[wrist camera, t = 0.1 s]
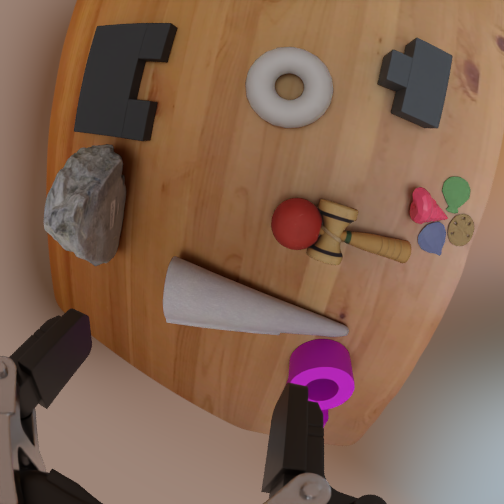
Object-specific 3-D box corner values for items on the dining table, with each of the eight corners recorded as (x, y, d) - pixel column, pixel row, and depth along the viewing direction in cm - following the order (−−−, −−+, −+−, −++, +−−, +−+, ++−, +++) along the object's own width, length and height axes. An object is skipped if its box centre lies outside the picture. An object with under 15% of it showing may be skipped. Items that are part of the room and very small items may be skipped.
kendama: (408, 212, 36) (279, 177, 35) (428, 237, 31) (282, 199, 30) (385, 258, 41) (264, 232, 39) (400, 287, 35) (264, 261, 34)
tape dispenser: (297, 334, 44) (296, 362, 39) (358, 343, 44) (364, 371, 38) (276, 399, 51) (273, 425, 45) (327, 406, 50) (328, 432, 44)
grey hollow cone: (373, 301, 36) (163, 271, 34) (352, 353, 39) (162, 330, 38) (356, 274, 43) (178, 247, 42) (340, 322, 46) (175, 299, 45)
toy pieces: (399, 254, 37) (409, 268, 33) (406, 172, 33) (418, 177, 29) (469, 254, 36) (483, 267, 32) (479, 179, 31) (496, 185, 27)
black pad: (105, 29, 30) (96, 26, 28) (177, 27, 30) (171, 23, 28) (82, 130, 37) (73, 131, 35) (150, 140, 36) (142, 141, 34)
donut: (265, 40, 30) (235, 111, 34) (262, 31, 27) (229, 108, 30) (343, 70, 30) (312, 141, 34) (348, 64, 27) (314, 142, 31)
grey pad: (387, 37, 27) (396, 28, 23) (439, 61, 27) (452, 55, 23) (371, 105, 31) (380, 103, 27) (424, 128, 31) (438, 128, 27)
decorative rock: (109, 138, 37) (33, 149, 23) (148, 148, 37) (77, 162, 23) (94, 240, 43) (31, 283, 29) (128, 254, 43) (70, 305, 29)
